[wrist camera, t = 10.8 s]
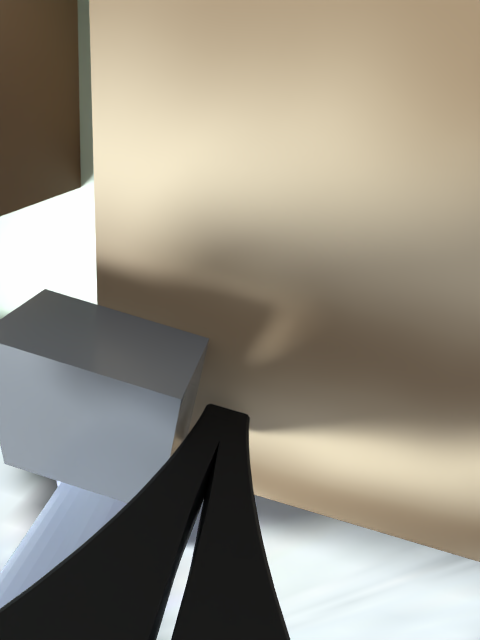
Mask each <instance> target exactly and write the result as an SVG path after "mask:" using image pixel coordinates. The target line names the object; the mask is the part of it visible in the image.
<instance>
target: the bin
mask: <svg viewBox="0 0 480 640" xmlns="http://www.w3.org/2000/svg"><path fill="white" fill-rule="evenodd" d="M77 1H78V55H79V109H80V164H81V188H78V189H75V190H72V191H69V192H67V193H64V194H61V195H58V196H56V197H53V198H50V199H47V200H45V201H42V202H39V203H36V204H34V205H31V206H28V207H25V208H23V209H20V210H17V211H14V212H12V213H9V214H6V215H3V216H0V319H2V318H3V317H4V316H6V315H7V314H9V313H10V312H12V311H13V310H15V309H16V308H18V307H19V306H21V305H22V304H23V303H25V302H26V301H28V300H29V299H31V298H32V297H34V296H35V295H37V294H38V293H40V292H41V291H43V290H44V289H47V290H51V291H54V292H57V293H61V294H64V295H67V296H71V297H74V298H77V299H81V300H84V301H87V302H90V303H94V304H97V278H96V240H95V202H94V165H93V127H92V90H91V52H90V14H89V0H77Z"/></svg>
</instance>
